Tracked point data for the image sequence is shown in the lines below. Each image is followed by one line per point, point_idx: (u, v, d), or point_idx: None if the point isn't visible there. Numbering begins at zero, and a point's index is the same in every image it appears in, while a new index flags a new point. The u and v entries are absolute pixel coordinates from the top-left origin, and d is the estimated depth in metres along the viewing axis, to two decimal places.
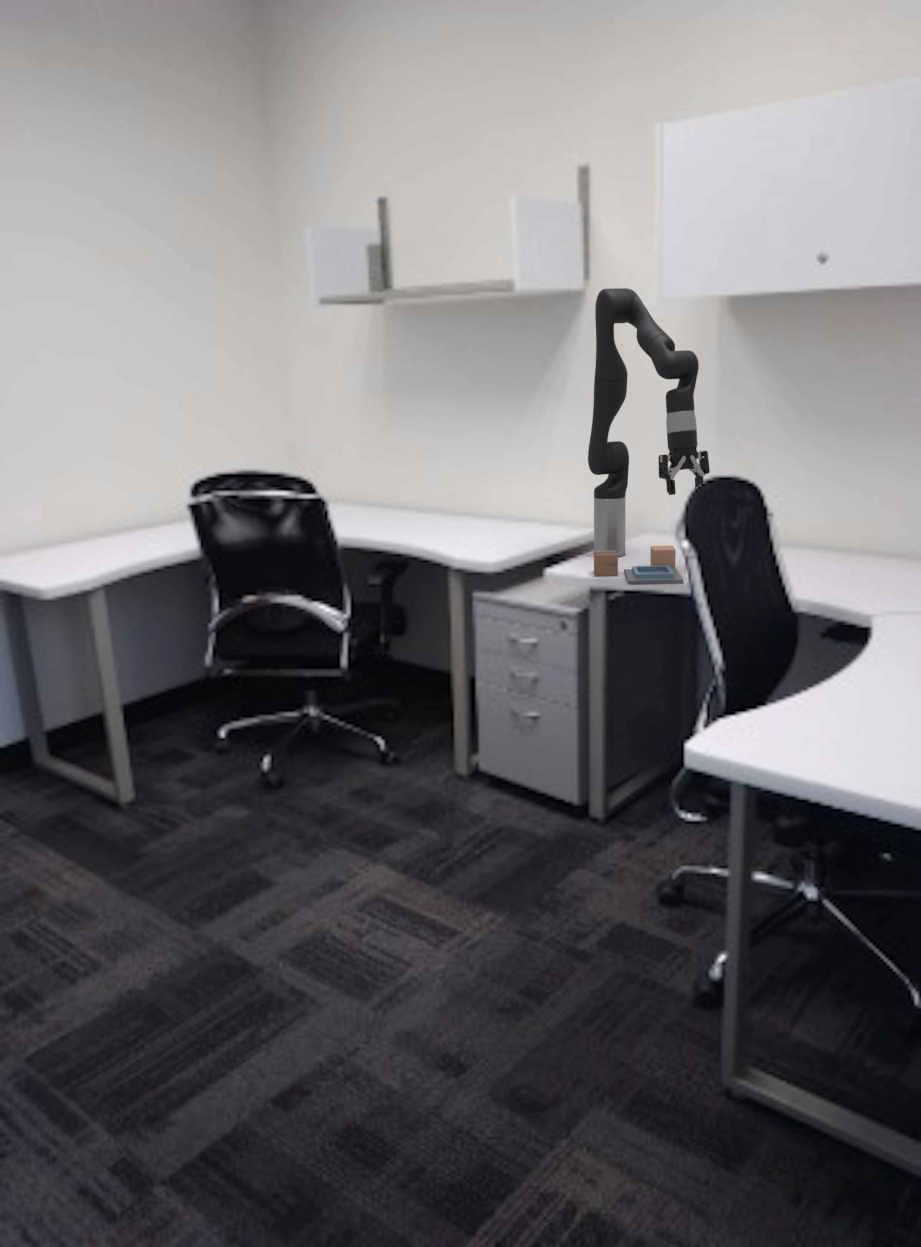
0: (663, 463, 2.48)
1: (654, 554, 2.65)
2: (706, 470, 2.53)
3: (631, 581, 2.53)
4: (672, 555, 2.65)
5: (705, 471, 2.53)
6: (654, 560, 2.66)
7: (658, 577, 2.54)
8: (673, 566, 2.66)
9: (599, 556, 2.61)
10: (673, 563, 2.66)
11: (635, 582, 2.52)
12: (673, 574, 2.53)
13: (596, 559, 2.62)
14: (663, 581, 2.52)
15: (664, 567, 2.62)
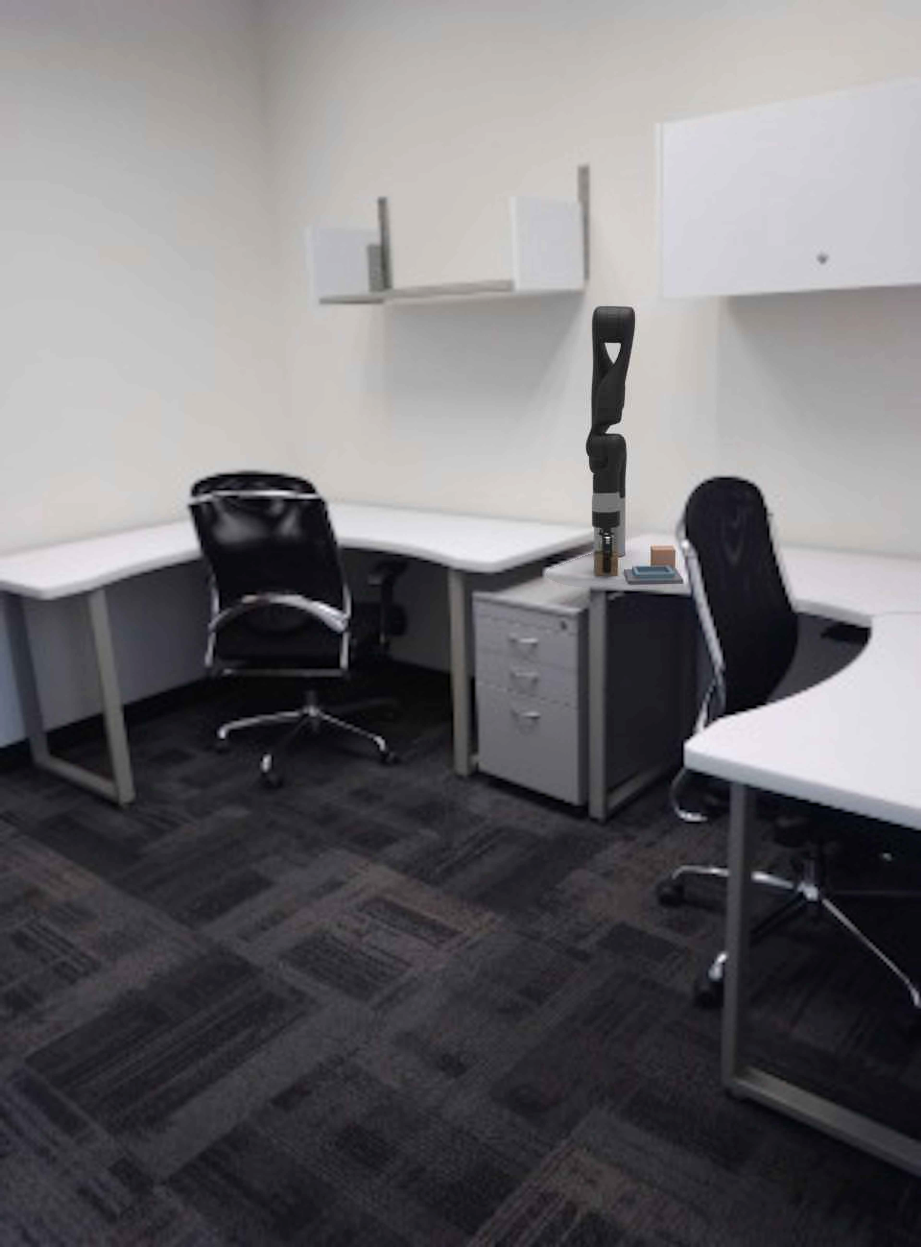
0: None
1: (654, 554, 2.65)
2: None
3: (631, 581, 2.53)
4: (672, 555, 2.65)
5: None
6: (654, 560, 2.66)
7: (658, 577, 2.54)
8: (673, 566, 2.66)
9: (599, 556, 2.61)
10: (673, 563, 2.66)
11: (635, 582, 2.52)
12: (673, 574, 2.53)
13: (596, 559, 2.62)
14: (663, 581, 2.52)
15: (664, 567, 2.62)
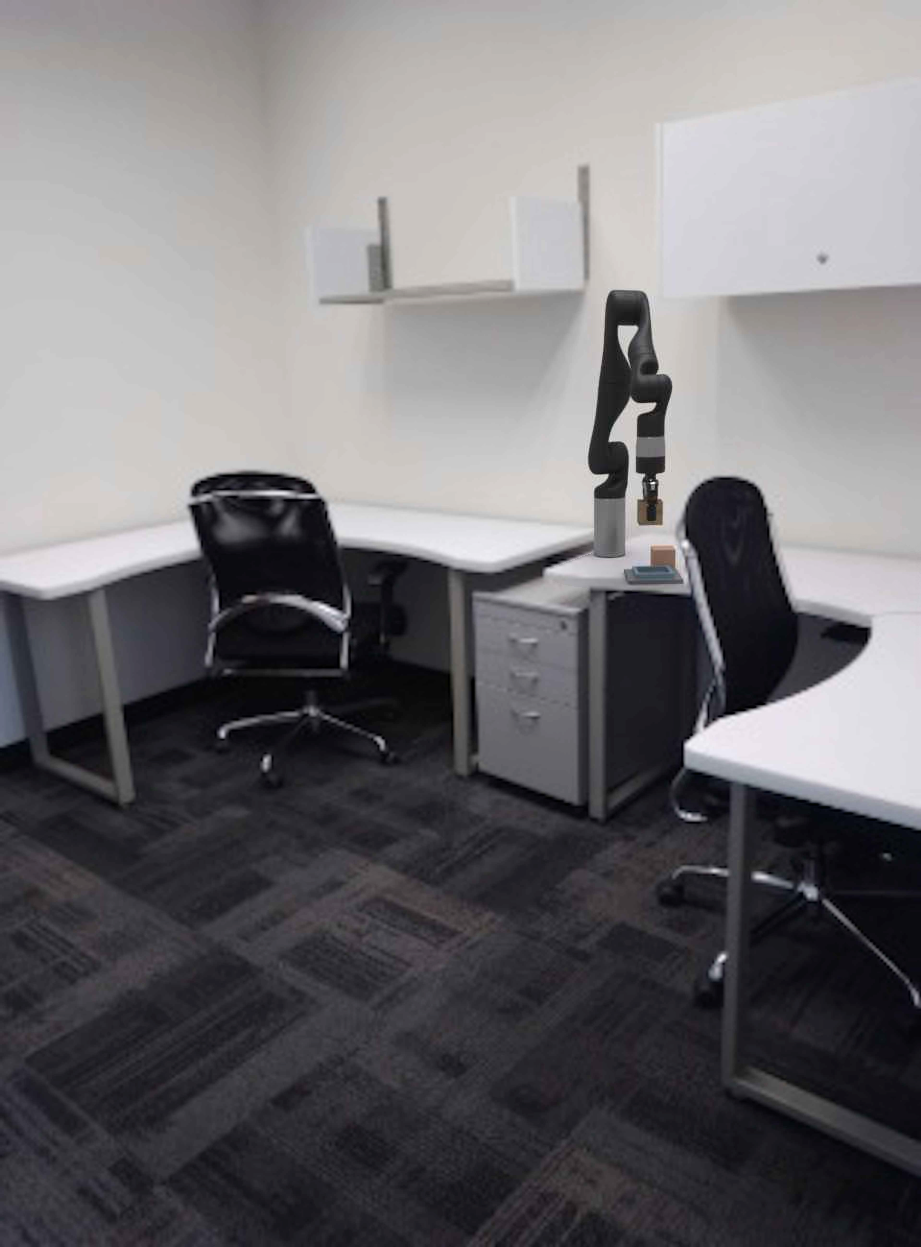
0: None
1: (654, 554, 2.65)
2: (647, 501, 2.49)
3: (631, 581, 2.53)
4: (672, 555, 2.65)
5: None
6: (654, 560, 2.66)
7: (658, 577, 2.54)
8: (673, 566, 2.66)
9: (643, 503, 2.51)
10: (673, 563, 2.66)
11: (635, 582, 2.52)
12: (673, 574, 2.53)
13: (640, 506, 2.51)
14: (663, 581, 2.52)
15: (664, 567, 2.62)
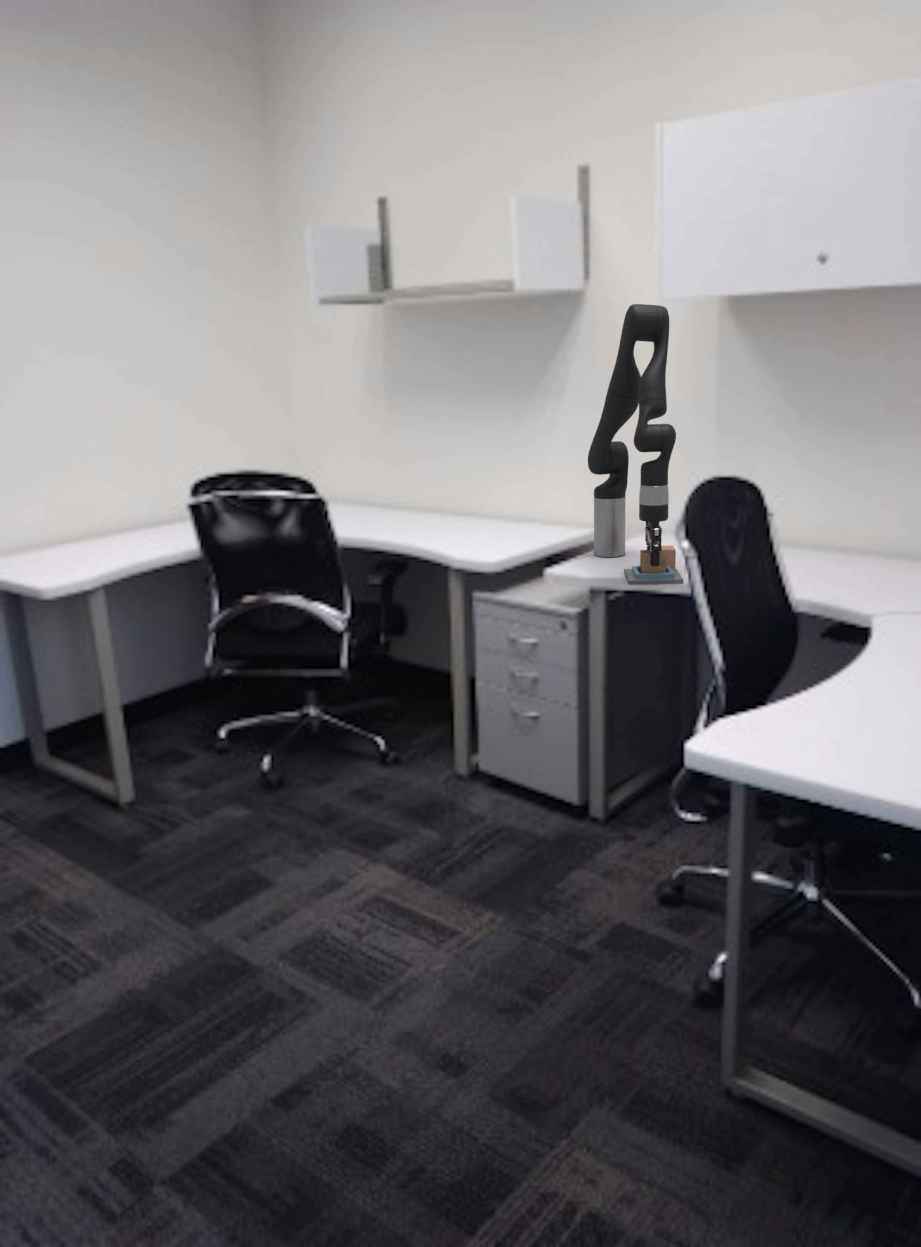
0: None
1: None
2: (651, 547, 2.51)
3: (631, 581, 2.53)
4: (672, 555, 2.65)
5: None
6: None
7: (658, 577, 2.54)
8: (673, 566, 2.66)
9: (646, 555, 2.54)
10: (673, 563, 2.66)
11: (635, 582, 2.52)
12: (673, 574, 2.53)
13: (643, 558, 2.55)
14: (663, 581, 2.52)
15: None
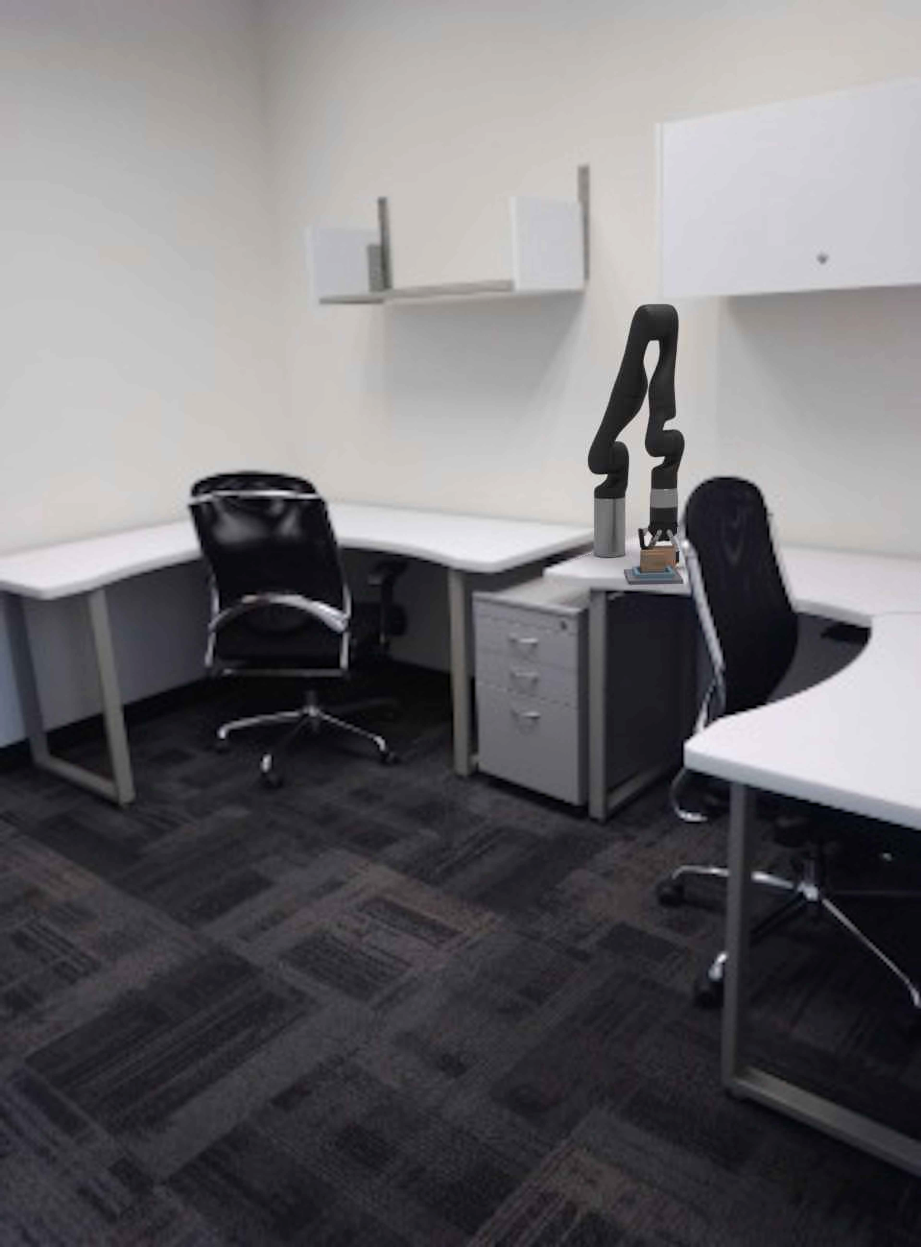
0: (639, 537, 2.66)
1: None
2: None
3: (631, 581, 2.53)
4: (672, 555, 2.65)
5: None
6: None
7: (658, 577, 2.54)
8: (673, 566, 2.66)
9: (646, 555, 2.54)
10: (673, 563, 2.65)
11: (635, 582, 2.52)
12: (673, 574, 2.53)
13: (643, 558, 2.55)
14: (663, 581, 2.52)
15: None
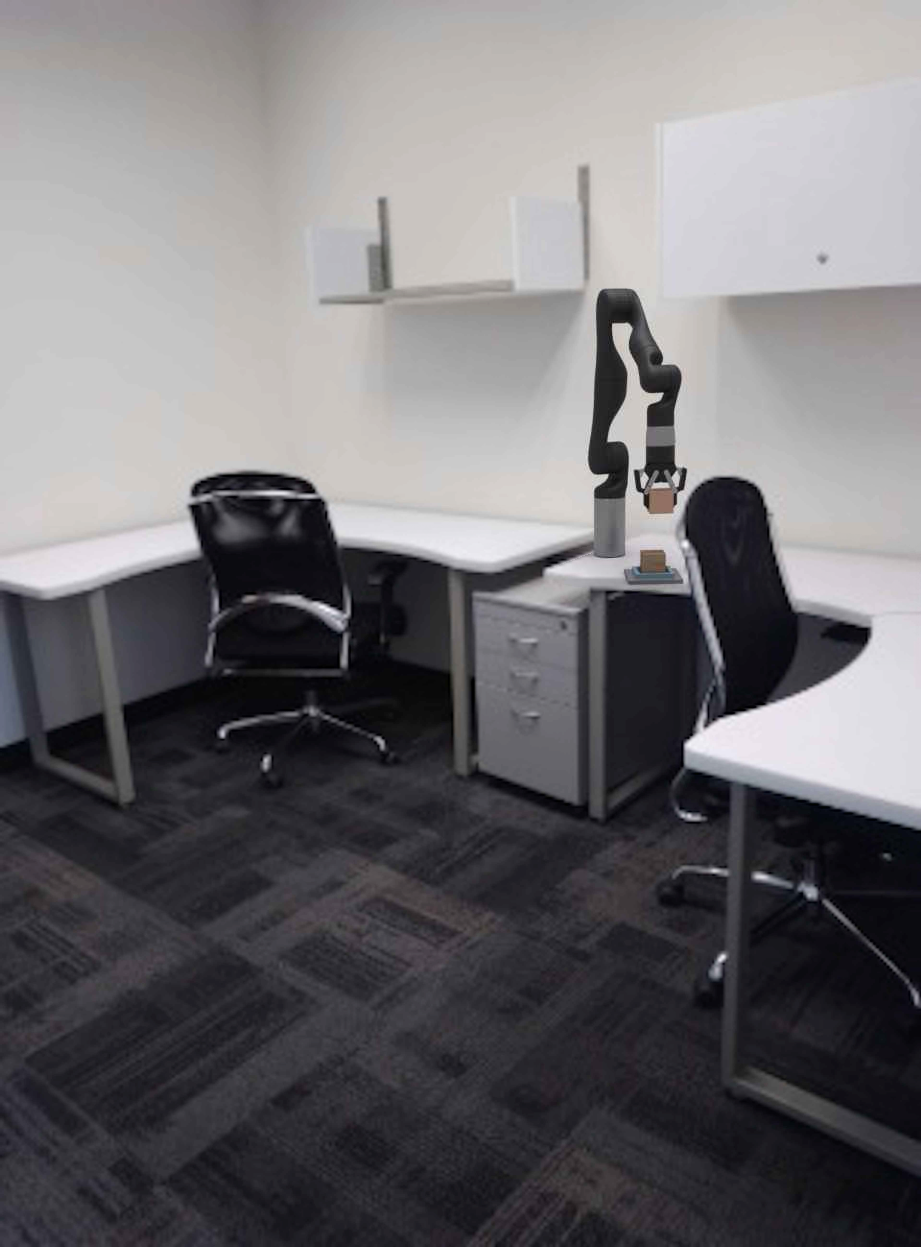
0: (635, 478, 2.56)
1: (651, 495, 2.54)
2: (680, 487, 2.55)
3: (631, 581, 2.53)
4: (670, 497, 2.54)
5: (679, 488, 2.55)
6: (651, 502, 2.55)
7: (658, 577, 2.54)
8: (671, 508, 2.55)
9: (646, 555, 2.54)
10: (671, 505, 2.55)
11: (635, 582, 2.52)
12: (673, 574, 2.53)
13: (643, 558, 2.55)
14: (663, 581, 2.52)
15: None
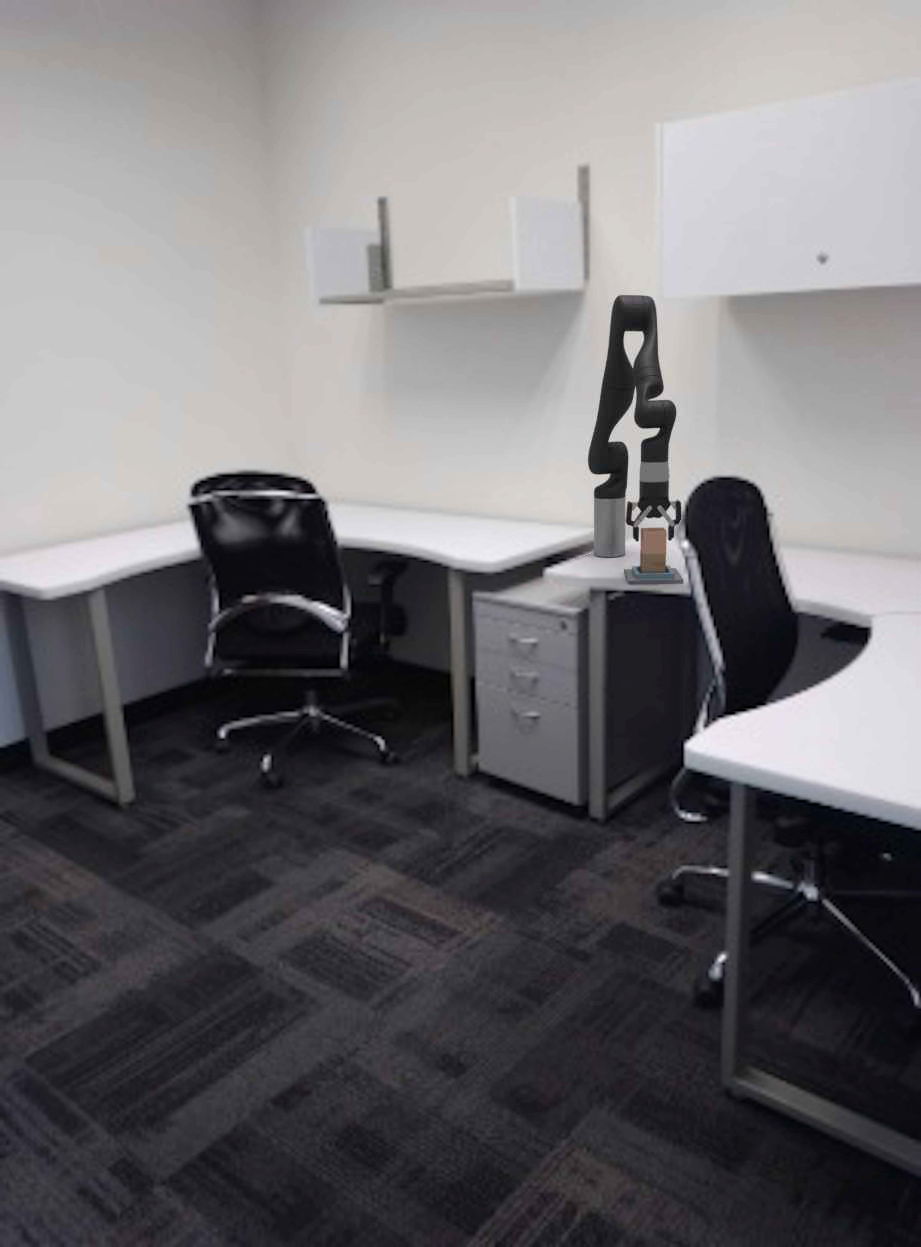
0: (627, 511, 2.54)
1: (644, 536, 2.53)
2: (677, 520, 2.53)
3: (631, 581, 2.53)
4: (663, 537, 2.53)
5: (677, 521, 2.53)
6: (644, 542, 2.54)
7: (658, 577, 2.54)
8: (664, 549, 2.54)
9: (646, 555, 2.54)
10: (664, 545, 2.53)
11: (635, 582, 2.52)
12: (673, 574, 2.53)
13: (643, 558, 2.55)
14: (663, 581, 2.52)
15: None
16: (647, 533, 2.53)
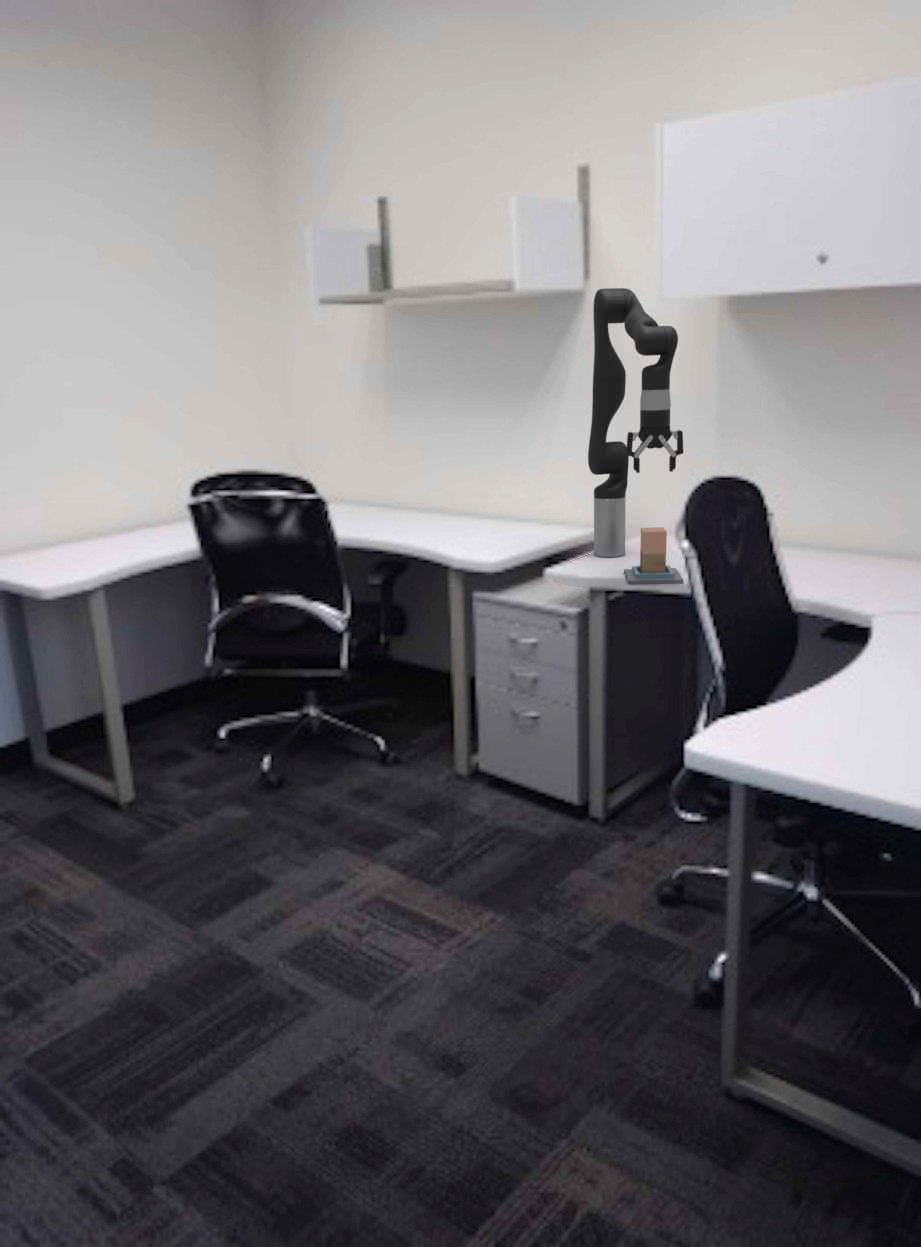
0: (628, 441, 2.49)
1: (644, 536, 2.53)
2: (679, 451, 2.48)
3: (631, 581, 2.53)
4: (663, 537, 2.53)
5: (678, 451, 2.49)
6: (644, 542, 2.54)
7: (658, 577, 2.54)
8: (664, 549, 2.54)
9: (646, 555, 2.54)
10: (664, 545, 2.53)
11: (635, 582, 2.52)
12: (673, 574, 2.53)
13: (643, 558, 2.55)
14: (663, 581, 2.52)
15: None
16: (647, 533, 2.53)
